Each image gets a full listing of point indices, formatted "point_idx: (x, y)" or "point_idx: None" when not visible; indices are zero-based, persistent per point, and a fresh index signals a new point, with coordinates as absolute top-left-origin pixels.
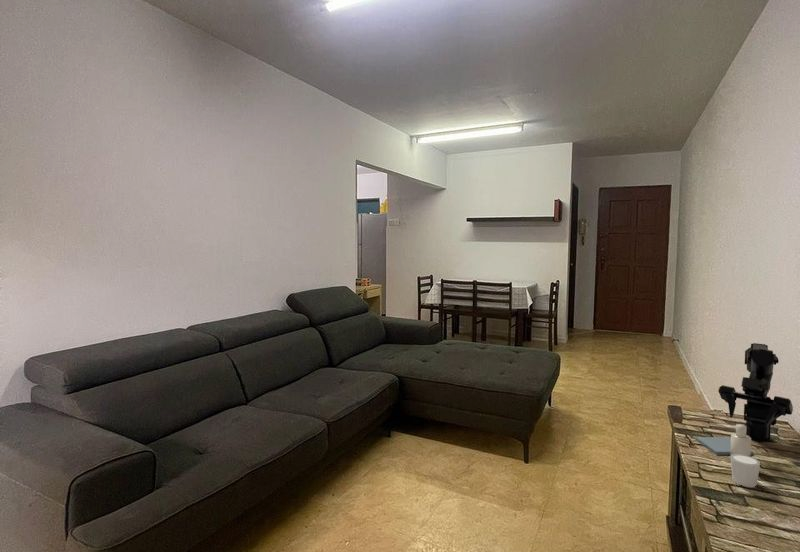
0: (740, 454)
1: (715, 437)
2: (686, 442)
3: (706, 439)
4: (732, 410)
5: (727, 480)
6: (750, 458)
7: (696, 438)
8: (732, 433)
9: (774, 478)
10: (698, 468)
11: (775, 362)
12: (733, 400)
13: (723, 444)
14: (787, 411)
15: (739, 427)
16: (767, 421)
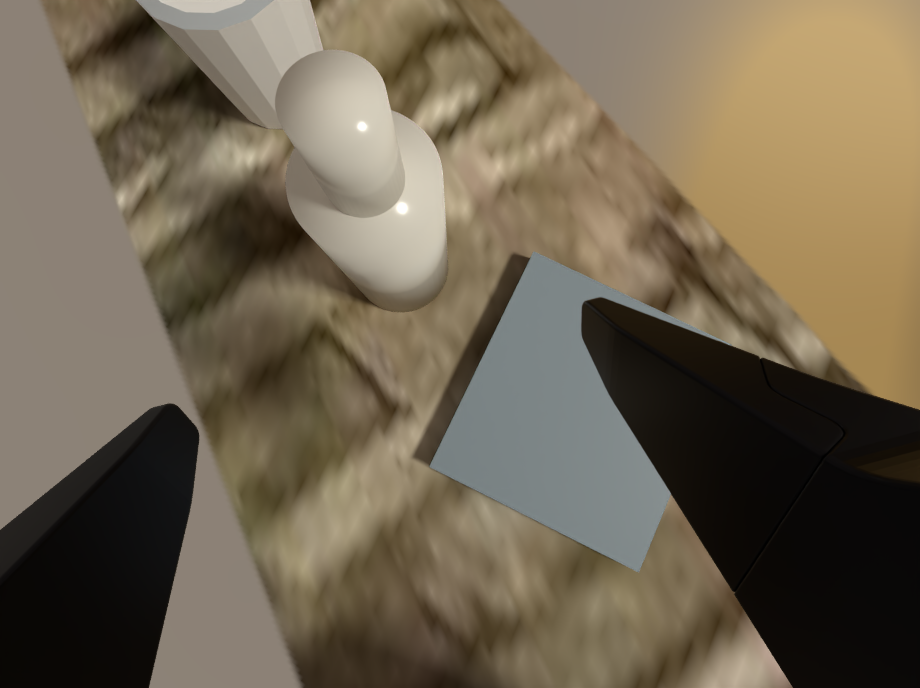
0: (265, 2)
1: None
2: (712, 260)
3: None
4: (637, 351)
5: (329, 30)
6: (199, 4)
7: (717, 339)
8: (439, 175)
9: (224, 258)
10: (468, 21)
11: None
12: (886, 575)
13: (581, 401)
14: None
15: (329, 60)
16: (117, 445)
